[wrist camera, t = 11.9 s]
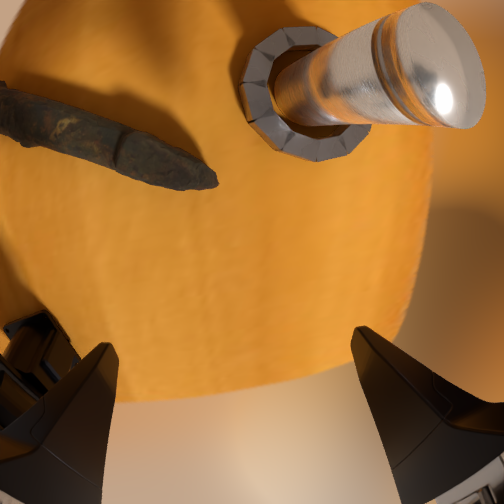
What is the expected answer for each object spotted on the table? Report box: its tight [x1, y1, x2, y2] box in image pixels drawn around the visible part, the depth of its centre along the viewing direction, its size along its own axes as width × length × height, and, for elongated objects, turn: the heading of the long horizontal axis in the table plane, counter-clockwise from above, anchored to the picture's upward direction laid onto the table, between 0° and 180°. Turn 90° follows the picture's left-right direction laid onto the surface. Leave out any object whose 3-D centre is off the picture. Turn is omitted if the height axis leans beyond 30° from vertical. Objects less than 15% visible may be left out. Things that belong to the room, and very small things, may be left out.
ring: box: [238, 27, 372, 162], centre depth 17 cm, size 10×10×2 cm
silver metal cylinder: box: [274, 2, 486, 129], centre depth 12 cm, size 5×5×13 cm
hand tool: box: [0, 81, 219, 191], centre depth 13 cm, size 19×4×5 cm, turn 62°
